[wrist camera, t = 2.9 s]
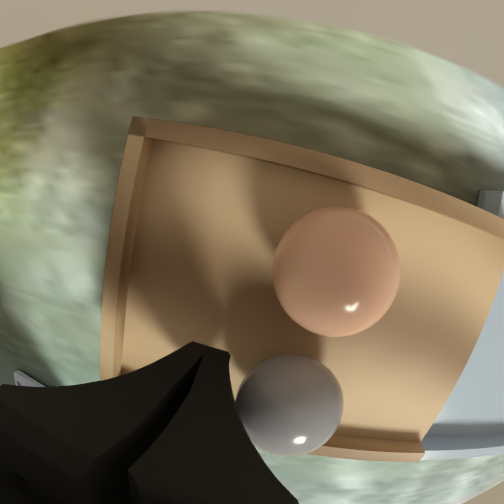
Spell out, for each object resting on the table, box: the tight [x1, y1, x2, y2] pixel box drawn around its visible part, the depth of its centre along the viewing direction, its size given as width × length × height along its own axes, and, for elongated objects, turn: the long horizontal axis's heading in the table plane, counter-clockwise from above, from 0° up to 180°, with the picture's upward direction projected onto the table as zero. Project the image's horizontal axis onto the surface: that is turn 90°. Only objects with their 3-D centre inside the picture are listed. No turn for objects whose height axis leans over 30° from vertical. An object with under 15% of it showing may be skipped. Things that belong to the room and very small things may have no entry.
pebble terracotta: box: [272, 206, 401, 337], centre depth 8 cm, size 3×3×3 cm
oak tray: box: [100, 117, 504, 462], centre depth 11 cm, size 10×14×3 cm
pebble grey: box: [235, 354, 344, 457], centre depth 9 cm, size 3×3×3 cm
